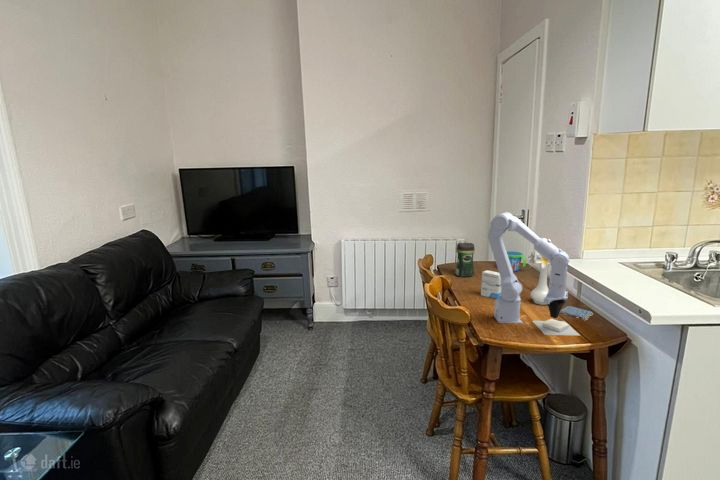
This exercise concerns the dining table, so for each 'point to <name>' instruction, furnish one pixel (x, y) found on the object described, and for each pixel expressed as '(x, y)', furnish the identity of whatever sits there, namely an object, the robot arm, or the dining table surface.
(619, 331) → the dining table surface
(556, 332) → the felt pad
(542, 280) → the flower vase
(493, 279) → the ink box
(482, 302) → the dining table surface
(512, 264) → the snack cup
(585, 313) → the woven mat
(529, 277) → the dining table surface
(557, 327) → the tile
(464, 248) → the coffee jar
